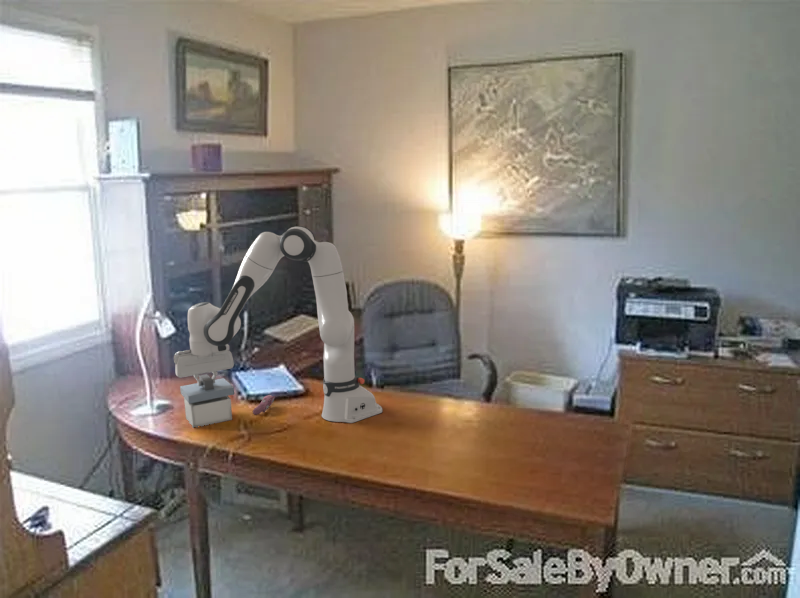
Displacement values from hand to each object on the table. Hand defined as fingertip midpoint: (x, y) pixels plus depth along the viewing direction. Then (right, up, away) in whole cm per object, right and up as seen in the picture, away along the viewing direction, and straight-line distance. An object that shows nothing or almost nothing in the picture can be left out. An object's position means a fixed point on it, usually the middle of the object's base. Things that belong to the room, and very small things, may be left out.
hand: (206, 384), depth 231 cm
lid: (0, -3, +1) cm, 4 cm away
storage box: (0, -13, +3) cm, 13 cm away
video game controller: (+19, -11, +10) cm, 24 cm away
